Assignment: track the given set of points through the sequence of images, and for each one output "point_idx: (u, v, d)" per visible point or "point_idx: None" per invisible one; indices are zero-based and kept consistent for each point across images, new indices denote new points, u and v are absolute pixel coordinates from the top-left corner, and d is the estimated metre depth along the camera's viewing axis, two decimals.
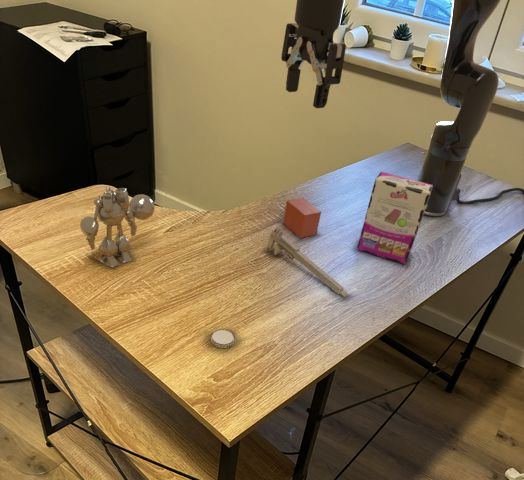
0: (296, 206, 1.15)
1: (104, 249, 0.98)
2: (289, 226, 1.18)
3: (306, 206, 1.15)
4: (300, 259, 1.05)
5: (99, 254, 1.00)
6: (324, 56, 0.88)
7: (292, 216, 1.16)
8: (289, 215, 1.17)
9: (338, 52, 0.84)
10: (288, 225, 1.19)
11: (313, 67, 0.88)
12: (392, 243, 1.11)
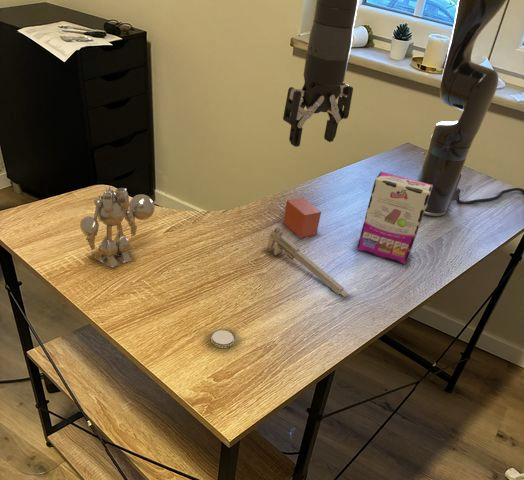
0: (296, 206, 1.15)
1: (104, 249, 0.98)
2: (289, 226, 1.18)
3: (306, 206, 1.15)
4: (300, 259, 1.05)
5: (99, 254, 1.00)
6: (308, 104, 0.98)
7: (292, 216, 1.16)
8: (289, 215, 1.17)
9: (291, 95, 0.96)
10: (288, 225, 1.19)
11: None
12: (392, 243, 1.11)
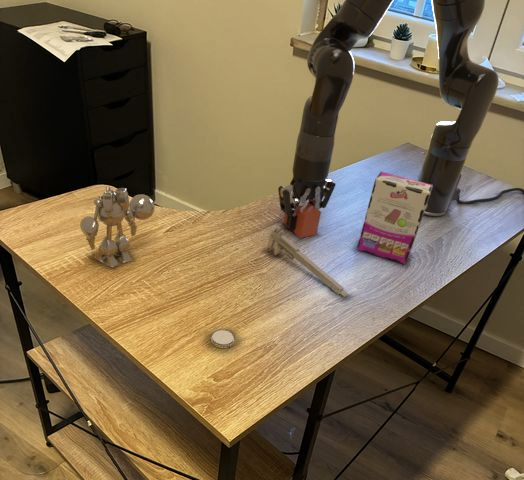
0: None
1: (104, 249, 0.98)
2: None
3: (306, 206, 1.15)
4: (300, 259, 1.05)
5: (99, 254, 1.00)
6: None
7: None
8: None
9: (281, 194, 1.10)
10: None
11: None
12: (392, 243, 1.11)
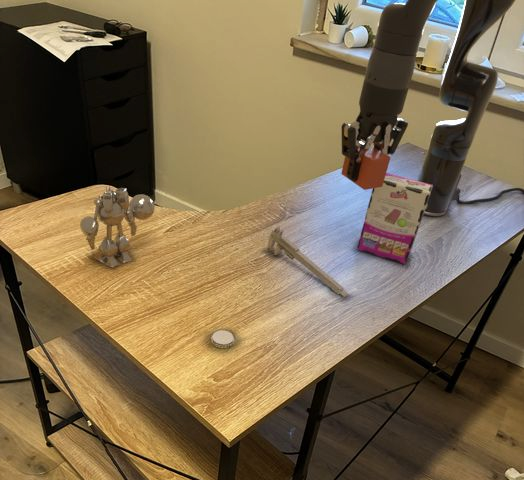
0: None
1: (104, 249, 0.98)
2: None
3: (372, 151, 0.96)
4: (300, 259, 1.05)
5: (99, 254, 1.00)
6: None
7: None
8: None
9: (345, 132, 0.90)
10: None
11: None
12: (392, 243, 1.11)
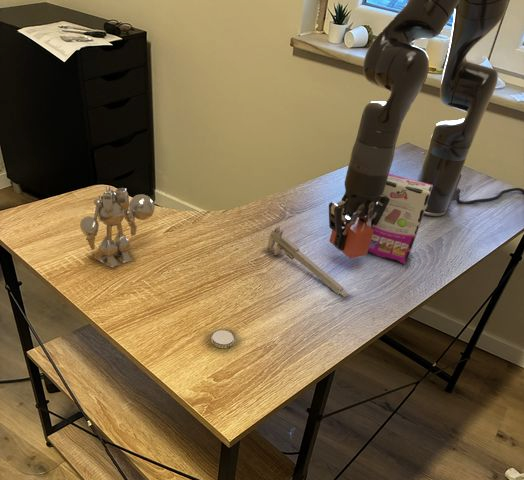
0: None
1: (104, 249, 0.98)
2: None
3: (357, 224, 1.05)
4: (300, 259, 1.05)
5: (99, 254, 1.00)
6: None
7: None
8: None
9: (332, 211, 0.99)
10: None
11: None
12: (392, 243, 1.11)
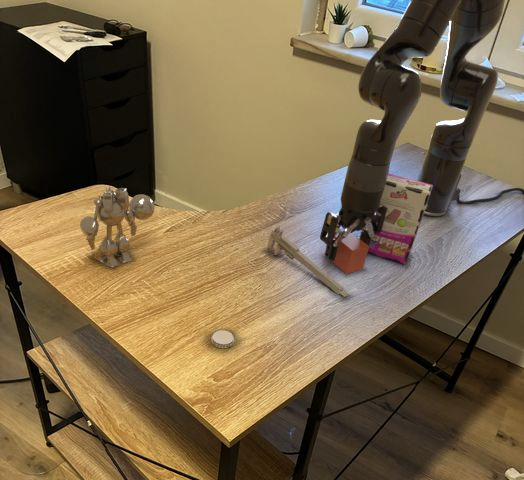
0: (342, 240, 1.06)
1: (104, 249, 0.98)
2: (333, 261, 1.10)
3: (353, 240, 1.07)
4: (300, 259, 1.05)
5: (99, 254, 1.00)
6: (344, 225, 1.03)
7: (337, 251, 1.08)
8: None
9: (328, 220, 1.00)
10: None
11: None
12: (392, 243, 1.11)
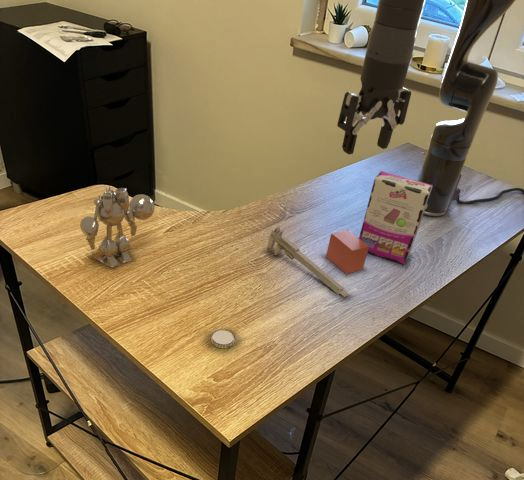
0: (342, 240, 1.06)
1: (104, 249, 0.98)
2: (333, 261, 1.10)
3: (353, 240, 1.07)
4: (300, 259, 1.05)
5: (99, 254, 1.00)
6: (364, 109, 0.93)
7: (337, 251, 1.08)
8: (333, 249, 1.09)
9: (347, 100, 0.90)
10: (332, 259, 1.10)
11: None
12: (391, 243, 1.11)
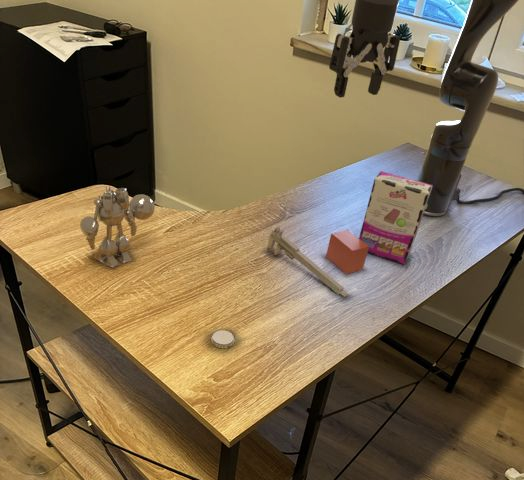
0: (342, 240, 1.06)
1: (104, 249, 0.98)
2: (333, 261, 1.10)
3: (353, 240, 1.07)
4: (300, 259, 1.05)
5: (99, 254, 1.00)
6: (355, 52, 0.97)
7: (337, 251, 1.08)
8: (333, 249, 1.09)
9: (338, 42, 0.95)
10: (332, 259, 1.10)
11: None
12: (391, 243, 1.11)
